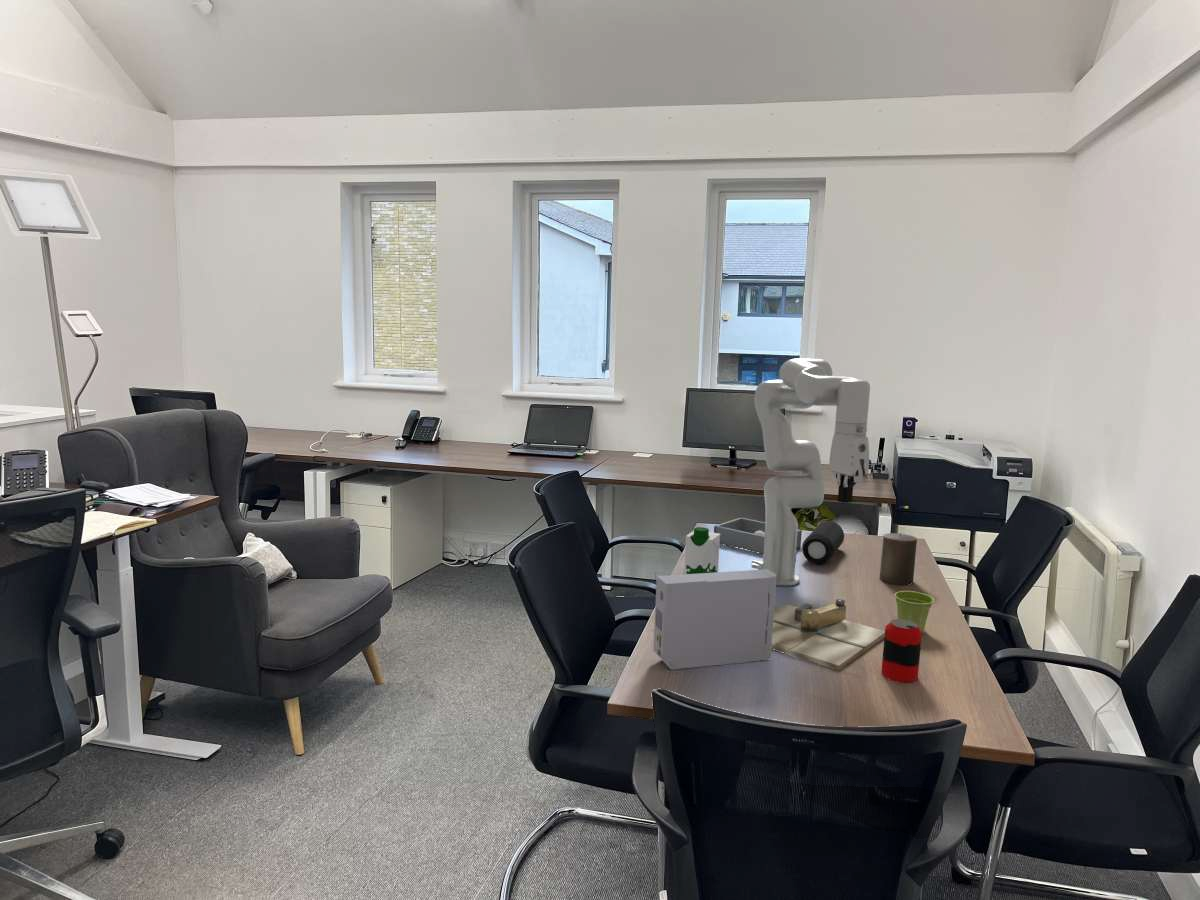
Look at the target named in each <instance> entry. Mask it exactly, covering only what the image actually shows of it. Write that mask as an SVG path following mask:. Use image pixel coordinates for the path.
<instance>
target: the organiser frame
mask: <svg viewBox="0 0 1200 900" xmlns="http://www.w3.org/2000/svg"><path fill="white" fill-rule="evenodd" d="M802 530H803V529H799V528H798V533H797V547H796V548H797V549H798V548H800V547H801V548H802V533H803V532H802ZM756 531H763V532H764V533H765V521H759V520H757V519H750V518H745V517H739V518H735V519H731V520H728V521H726V522H723V523H719V524H717V525H714V526H713V533H719V534H720V544H724V545H723V546H725V545H728V546H727V547H729V546H732V547H731V548H733V547H738V548H743V549H747V550H750V551H749V552H751V551H754V552H753V553H755V552H759V553H763V550H764V536H762V535H757V534H754V533H755V532H756ZM720 544H719V545H720ZM738 548H737V549H738ZM759 553H758V554H759Z"/></svg>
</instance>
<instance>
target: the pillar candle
mask: <svg viewBox="0 0 1200 900" xmlns="http://www.w3.org/2000/svg"><path fill="white" fill-rule="evenodd" d="M882 536H883V537H882V538H883V539H882V549H881V555H880V556H881V557H880V570H879V571H880V572H879V579H880V581H882V582H884V583H887V584H890V585H895V584H897V585H898V586H909V585H908V584H911V583H912V584H913V583H914V577H915V566H916V556H917V555H916V554H917V543H918V538H917V537H916V536H915V535H914V536H913V535H911V534H906V533H902V532H899V533H898V532H896V533H895V532H890V533H883V534H882ZM912 584H911V585H912ZM897 585H896V586H897Z"/></svg>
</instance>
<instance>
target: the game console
mask: <svg viewBox="0 0 1200 900" xmlns="http://www.w3.org/2000/svg"><path fill="white" fill-rule="evenodd" d="M776 576H777V575H776V574H774V573H773V572H771V571H770V570H768V569H761V570H758V569H751V570H749V569H747V570H736V571H735V570H733V571H718V572H715V573H700V574H671V575H668V574H667V575H656V582H655V584H656V587H655V609H654V628H653V629H654V634H653V652H654V653H655V654H656V655H657V656H658V657H659V658H660V659H661V661H662V662H663V663H664V664H665V665H666V666H667V667H668V669H670V670H672V671H673V670H681V669H682V670H683V669H692V668H702V667H712V666H722V665H732V664H741V663H742V662H744V663H751V661H754V662H761V661H760V660H764V661H770V660H771V659H772V651H773V650H772V634H773V619H774V609H775V604H776V601H775V600H776V593H777V591H776V587H777V585H776ZM769 659H770V660H769Z"/></svg>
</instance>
